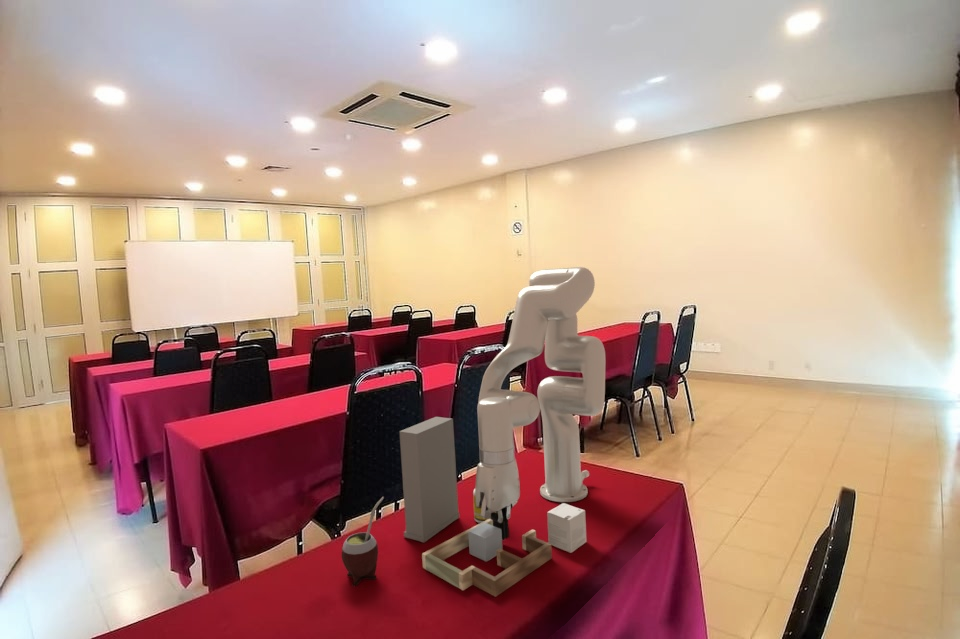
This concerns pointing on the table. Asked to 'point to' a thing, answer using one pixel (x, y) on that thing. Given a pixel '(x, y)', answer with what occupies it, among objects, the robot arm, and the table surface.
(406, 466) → the tall upright grey box
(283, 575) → the table surface
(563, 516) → the skincare box
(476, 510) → the supplement bottle
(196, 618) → the table surface
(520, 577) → the box
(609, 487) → the table surface
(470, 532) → the block
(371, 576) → the mate gourd
